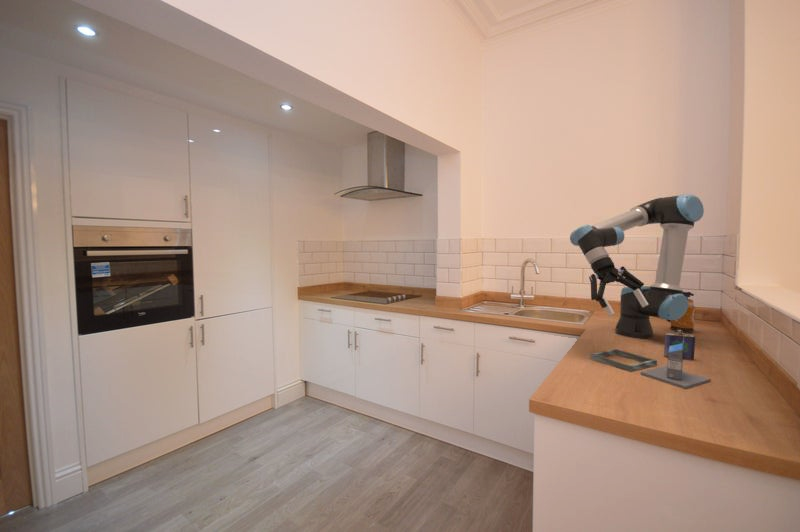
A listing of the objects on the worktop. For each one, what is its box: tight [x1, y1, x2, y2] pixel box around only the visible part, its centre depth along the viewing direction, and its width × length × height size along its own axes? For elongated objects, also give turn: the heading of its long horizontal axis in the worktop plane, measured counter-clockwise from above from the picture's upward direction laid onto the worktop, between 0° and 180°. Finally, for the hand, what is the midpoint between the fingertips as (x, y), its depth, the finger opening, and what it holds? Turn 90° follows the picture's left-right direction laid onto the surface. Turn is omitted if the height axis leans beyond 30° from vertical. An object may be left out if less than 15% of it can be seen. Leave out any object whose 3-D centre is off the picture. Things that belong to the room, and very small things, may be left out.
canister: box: [665, 291, 696, 333], centre depth 175 cm, size 9×11×20 cm
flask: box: [663, 330, 696, 361], centre depth 134 cm, size 9×3×11 cm, turn 65°
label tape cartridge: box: [666, 339, 684, 380], centre depth 114 cm, size 9×4×12 cm, turn 141°
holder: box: [589, 348, 658, 372], centre depth 129 cm, size 15×15×2 cm
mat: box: [640, 365, 712, 390], centre depth 114 cm, size 14×13×1 cm
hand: (628, 310), depth 129 cm, fingers open, 13 cm apart
